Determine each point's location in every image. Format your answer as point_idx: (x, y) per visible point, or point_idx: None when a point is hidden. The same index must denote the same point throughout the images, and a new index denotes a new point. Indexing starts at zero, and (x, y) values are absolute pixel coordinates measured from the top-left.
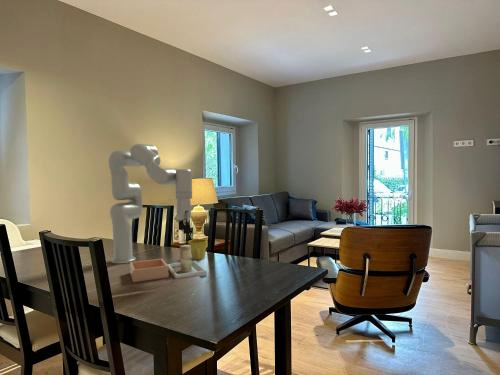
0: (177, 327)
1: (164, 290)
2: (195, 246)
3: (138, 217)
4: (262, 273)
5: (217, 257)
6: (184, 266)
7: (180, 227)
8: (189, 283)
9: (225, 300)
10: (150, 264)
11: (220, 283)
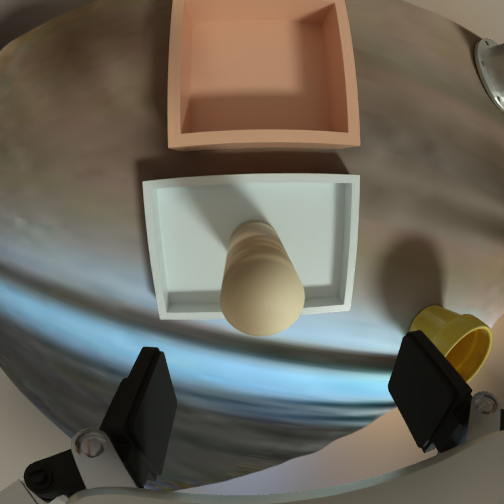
0: None
1: (65, 132)
2: (436, 344)
3: None
4: None
5: None
6: (230, 241)
7: (414, 364)
8: (100, 227)
9: None
10: (337, 83)
11: (80, 321)
